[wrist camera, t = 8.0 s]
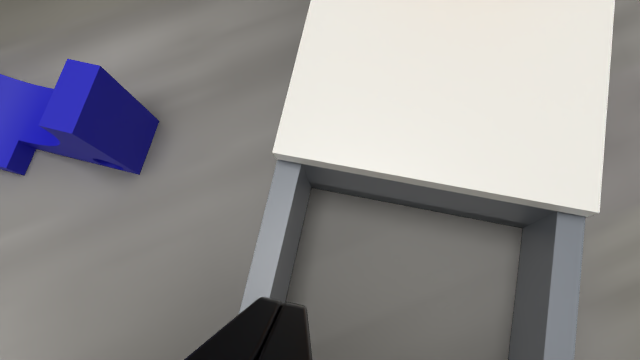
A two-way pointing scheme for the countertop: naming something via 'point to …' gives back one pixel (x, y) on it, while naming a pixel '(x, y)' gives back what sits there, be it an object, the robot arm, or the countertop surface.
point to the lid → (456, 96)
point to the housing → (538, 224)
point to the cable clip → (74, 120)
